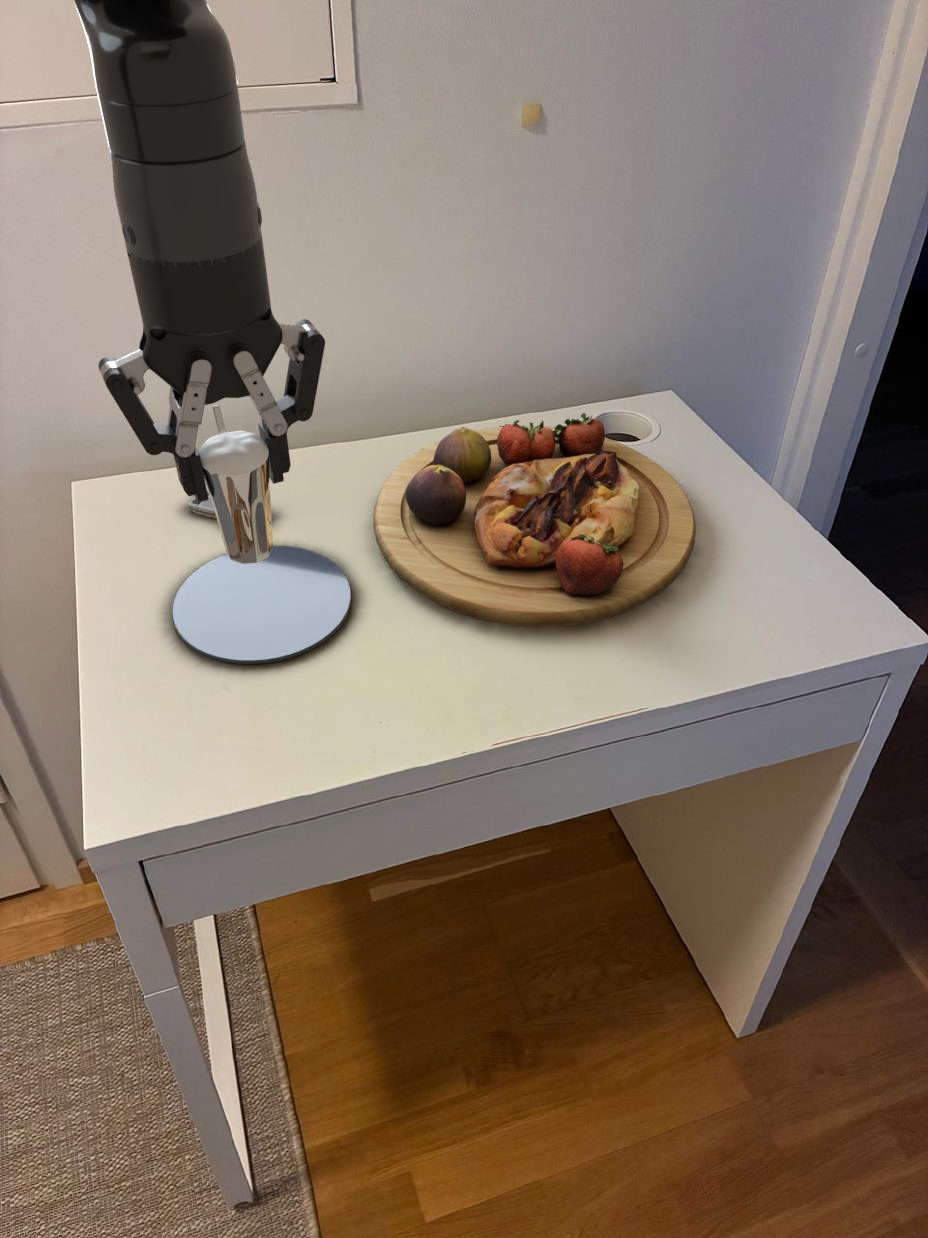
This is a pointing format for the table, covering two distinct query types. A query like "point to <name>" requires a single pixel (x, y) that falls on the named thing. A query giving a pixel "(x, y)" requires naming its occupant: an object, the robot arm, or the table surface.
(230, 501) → the milkshake
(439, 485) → the wooden plate
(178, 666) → the table surface
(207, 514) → the strap clip
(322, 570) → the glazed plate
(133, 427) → the robot arm
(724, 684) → the table surface
